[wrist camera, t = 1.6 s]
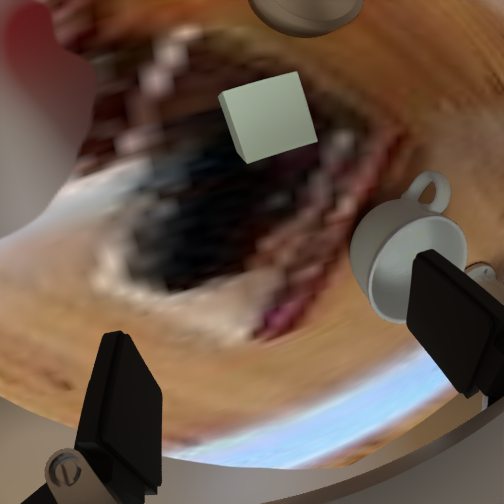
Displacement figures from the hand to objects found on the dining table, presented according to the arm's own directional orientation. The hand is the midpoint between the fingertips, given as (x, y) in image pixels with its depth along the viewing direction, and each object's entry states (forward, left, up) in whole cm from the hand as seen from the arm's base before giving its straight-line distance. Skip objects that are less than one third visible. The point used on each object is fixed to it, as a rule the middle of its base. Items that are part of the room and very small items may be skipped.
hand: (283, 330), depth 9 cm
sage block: (-4, -5, -19) cm, 20 cm away
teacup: (-14, +9, -19) cm, 25 cm away
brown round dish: (-11, -15, -19) cm, 27 cm away
